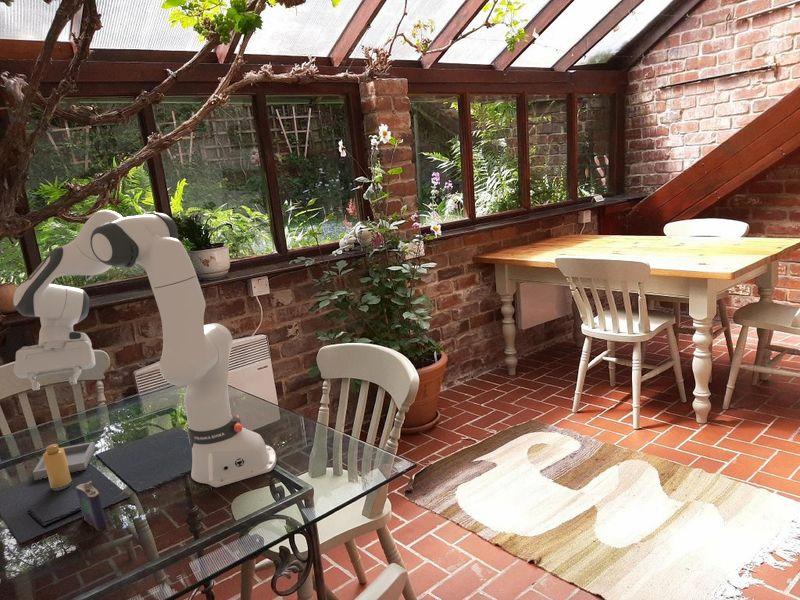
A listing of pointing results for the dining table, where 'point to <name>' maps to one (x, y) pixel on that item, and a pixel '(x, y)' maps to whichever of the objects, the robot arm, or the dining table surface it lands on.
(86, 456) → the gray tray
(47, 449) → the amber bottle
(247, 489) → the dining table surface
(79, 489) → the flask
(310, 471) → the dining table surface
